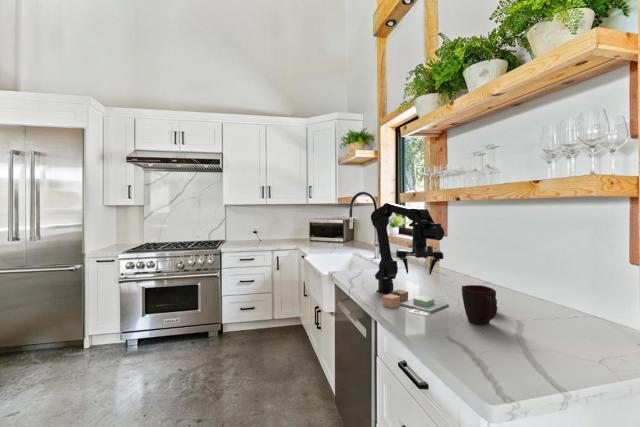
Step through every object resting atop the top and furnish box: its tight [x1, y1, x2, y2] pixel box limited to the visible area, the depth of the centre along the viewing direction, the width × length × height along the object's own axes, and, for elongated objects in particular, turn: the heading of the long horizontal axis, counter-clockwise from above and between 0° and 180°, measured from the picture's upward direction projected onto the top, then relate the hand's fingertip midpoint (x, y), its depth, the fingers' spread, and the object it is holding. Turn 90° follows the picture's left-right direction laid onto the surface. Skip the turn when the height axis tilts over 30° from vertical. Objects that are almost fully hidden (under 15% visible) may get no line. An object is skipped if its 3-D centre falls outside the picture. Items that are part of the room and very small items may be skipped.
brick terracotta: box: [382, 293, 401, 309], centre depth 133 cm, size 5×5×4 cm
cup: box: [461, 284, 498, 326], centre depth 111 cm, size 10×14×12 cm
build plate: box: [400, 295, 449, 314], centre depth 133 cm, size 14×14×3 cm
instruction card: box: [408, 308, 431, 317], centre depth 124 cm, size 7×5×1 cm
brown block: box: [391, 289, 409, 303], centre depth 141 cm, size 5×5×4 cm
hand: (418, 274), depth 137 cm, fingers open, 9 cm apart
